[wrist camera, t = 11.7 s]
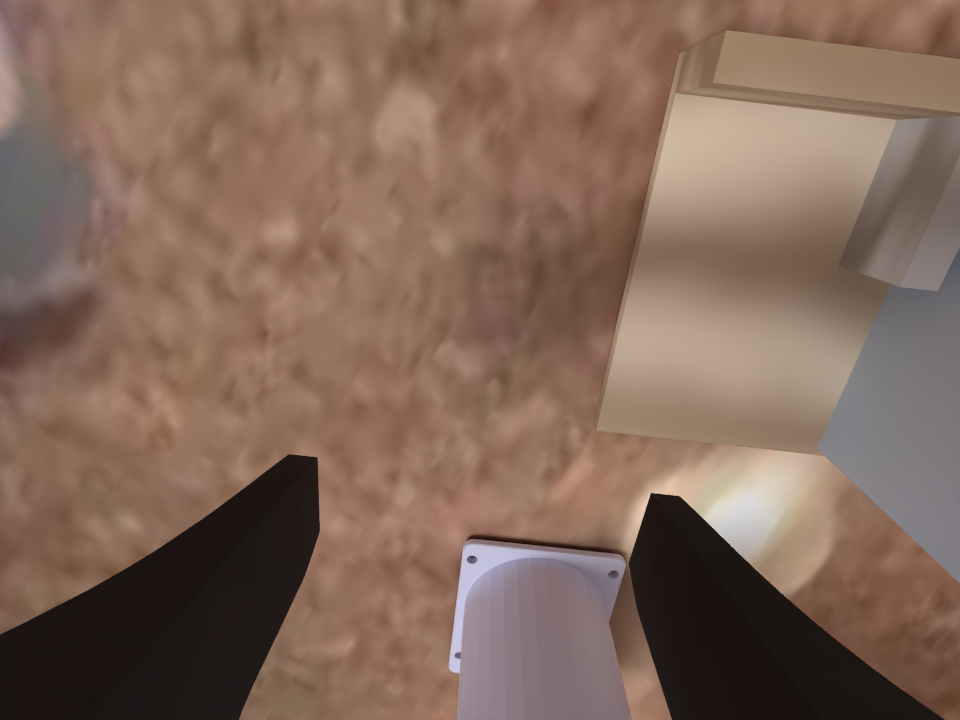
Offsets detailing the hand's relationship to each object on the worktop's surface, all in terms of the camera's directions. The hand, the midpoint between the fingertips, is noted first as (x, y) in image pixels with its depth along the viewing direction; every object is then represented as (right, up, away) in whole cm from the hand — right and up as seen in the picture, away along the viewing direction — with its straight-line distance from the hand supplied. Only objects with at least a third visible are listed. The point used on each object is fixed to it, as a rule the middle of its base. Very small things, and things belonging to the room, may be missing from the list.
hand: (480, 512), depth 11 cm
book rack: (+14, +6, +8) cm, 17 cm away
